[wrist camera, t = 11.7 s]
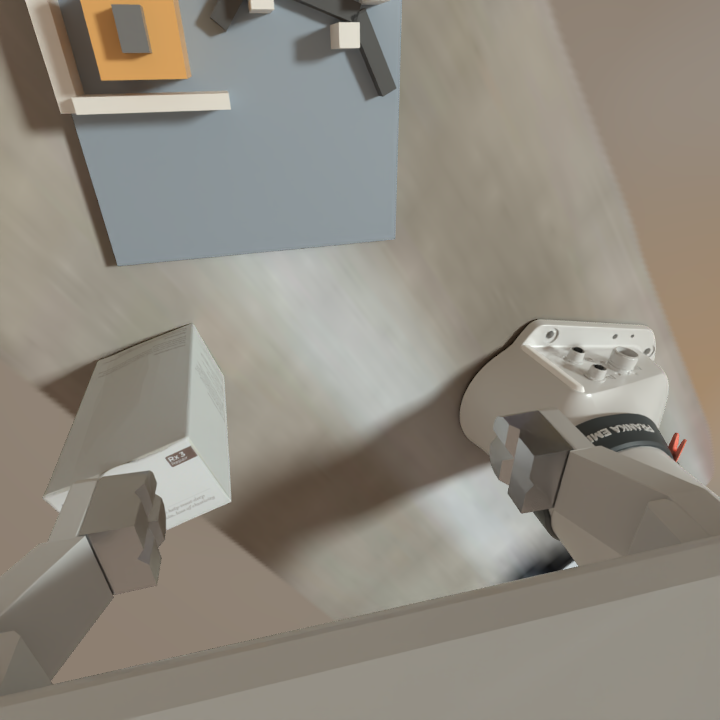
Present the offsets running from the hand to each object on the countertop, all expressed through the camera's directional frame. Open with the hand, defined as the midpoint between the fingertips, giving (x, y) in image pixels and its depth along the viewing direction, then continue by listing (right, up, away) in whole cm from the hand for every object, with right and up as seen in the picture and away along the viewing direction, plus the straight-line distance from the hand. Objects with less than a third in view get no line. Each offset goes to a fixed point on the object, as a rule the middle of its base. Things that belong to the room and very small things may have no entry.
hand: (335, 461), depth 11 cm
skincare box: (-15, +2, +27) cm, 31 cm away
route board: (-7, +18, +19) cm, 27 cm away
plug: (-11, +21, +15) cm, 28 cm away
